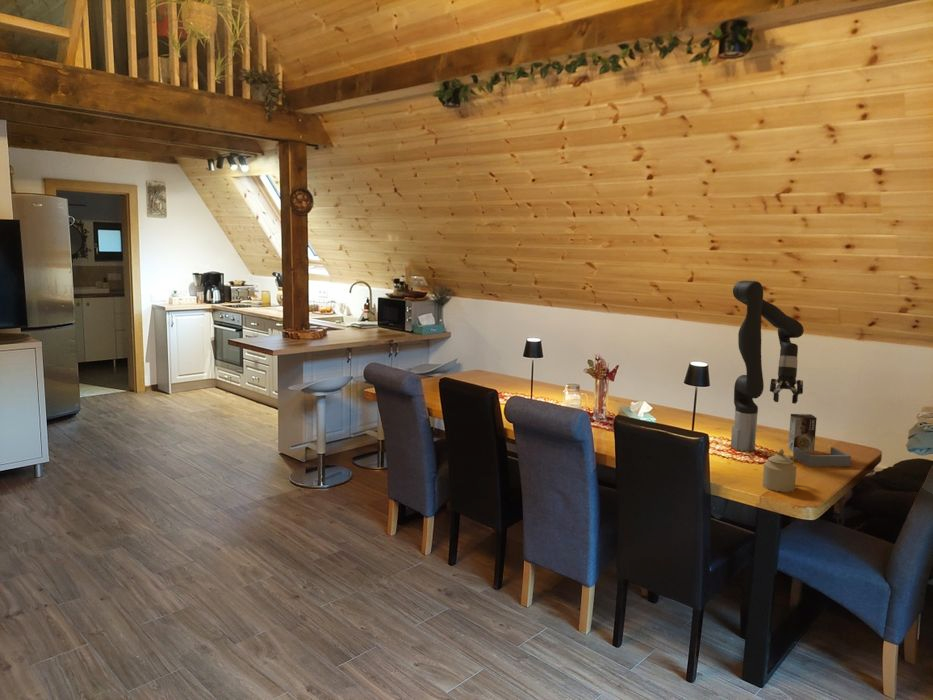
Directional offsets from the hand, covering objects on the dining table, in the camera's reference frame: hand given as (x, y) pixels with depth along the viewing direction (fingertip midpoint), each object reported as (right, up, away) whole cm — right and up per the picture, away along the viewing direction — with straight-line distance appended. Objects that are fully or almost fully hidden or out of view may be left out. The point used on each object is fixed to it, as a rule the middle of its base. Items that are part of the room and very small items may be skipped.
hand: (785, 402), depth 296 cm
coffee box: (+7, -22, 0) cm, 23 cm away
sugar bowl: (-24, -28, -45) cm, 58 cm away
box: (+8, -24, -16) cm, 29 cm away
